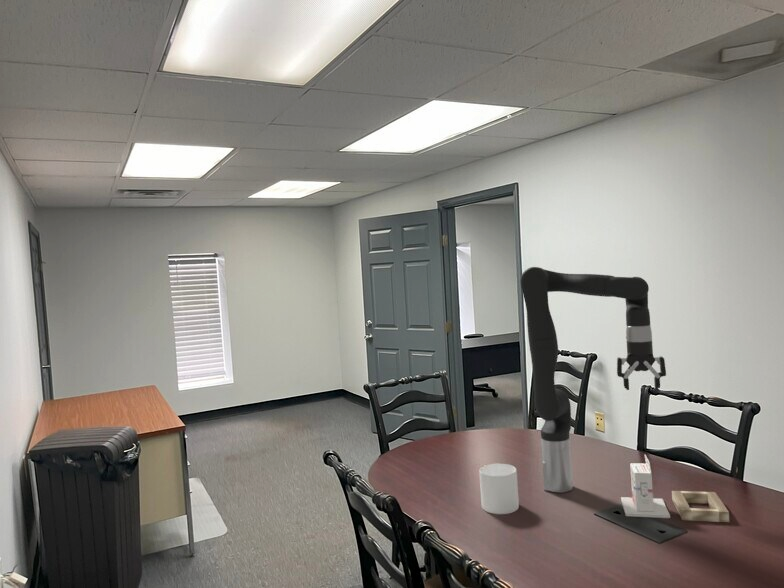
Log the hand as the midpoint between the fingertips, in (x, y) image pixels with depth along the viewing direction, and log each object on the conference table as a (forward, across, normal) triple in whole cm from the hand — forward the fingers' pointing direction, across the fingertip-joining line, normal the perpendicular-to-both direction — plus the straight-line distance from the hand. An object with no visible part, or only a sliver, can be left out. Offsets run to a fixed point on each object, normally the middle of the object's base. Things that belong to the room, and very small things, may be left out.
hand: (642, 389), depth 181 cm
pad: (+34, -3, -12) cm, 36 cm away
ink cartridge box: (+33, -3, -12) cm, 35 cm away
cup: (+34, -46, -16) cm, 59 cm away
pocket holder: (+34, +12, -12) cm, 38 cm away
